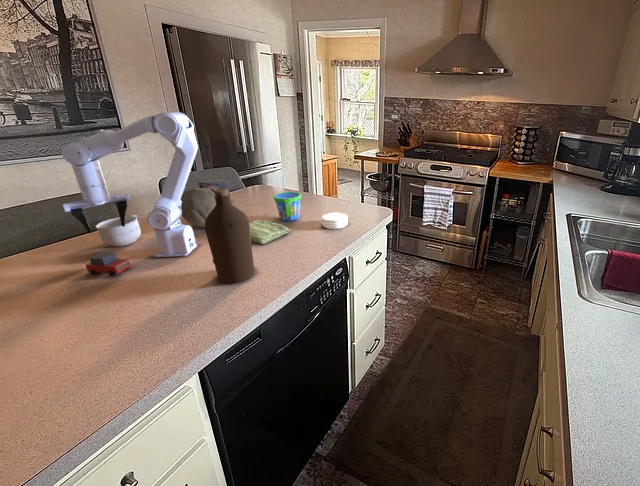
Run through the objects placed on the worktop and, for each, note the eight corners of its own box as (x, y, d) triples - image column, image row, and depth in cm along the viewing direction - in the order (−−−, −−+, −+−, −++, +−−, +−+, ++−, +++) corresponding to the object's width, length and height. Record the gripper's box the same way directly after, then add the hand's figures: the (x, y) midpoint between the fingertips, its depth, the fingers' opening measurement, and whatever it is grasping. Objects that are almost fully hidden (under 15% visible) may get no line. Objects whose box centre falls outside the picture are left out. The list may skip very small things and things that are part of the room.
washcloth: (262, 246, 110) (261, 237, 108) (230, 235, 118) (228, 227, 117) (292, 233, 120) (291, 225, 119) (261, 224, 128) (260, 216, 127)
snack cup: (279, 213, 141) (276, 190, 137) (304, 211, 143) (302, 189, 139) (274, 226, 126) (270, 201, 123) (302, 224, 129) (299, 200, 125)
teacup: (120, 251, 105) (113, 228, 102) (93, 247, 107) (85, 225, 104) (158, 234, 118) (153, 213, 115) (134, 231, 120) (128, 211, 117)
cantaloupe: (232, 221, 131) (226, 185, 126) (207, 234, 118) (199, 195, 113) (201, 218, 133) (194, 183, 128) (173, 231, 120) (163, 192, 115)
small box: (202, 204, 150) (197, 182, 147) (211, 200, 156) (207, 178, 153) (222, 205, 149) (218, 183, 145) (231, 201, 155) (228, 180, 151)
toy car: (88, 274, 91) (82, 258, 89) (104, 266, 95) (98, 251, 94) (117, 277, 90) (112, 260, 88) (132, 268, 95) (127, 252, 93)
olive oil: (265, 270, 95) (252, 187, 86) (235, 288, 86) (218, 197, 77) (237, 263, 99) (222, 183, 90) (206, 280, 89) (186, 192, 80)
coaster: (336, 231, 123) (335, 222, 122) (317, 225, 128) (316, 217, 126) (353, 223, 131) (352, 215, 130) (334, 218, 136) (334, 210, 134)
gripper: (56, 192, 86) (74, 239, 91) (126, 183, 95) (138, 226, 100) (57, 187, 91) (74, 231, 95) (123, 179, 100) (135, 220, 105)
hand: (107, 228), depth 98 cm, fingers open, 7 cm apart
